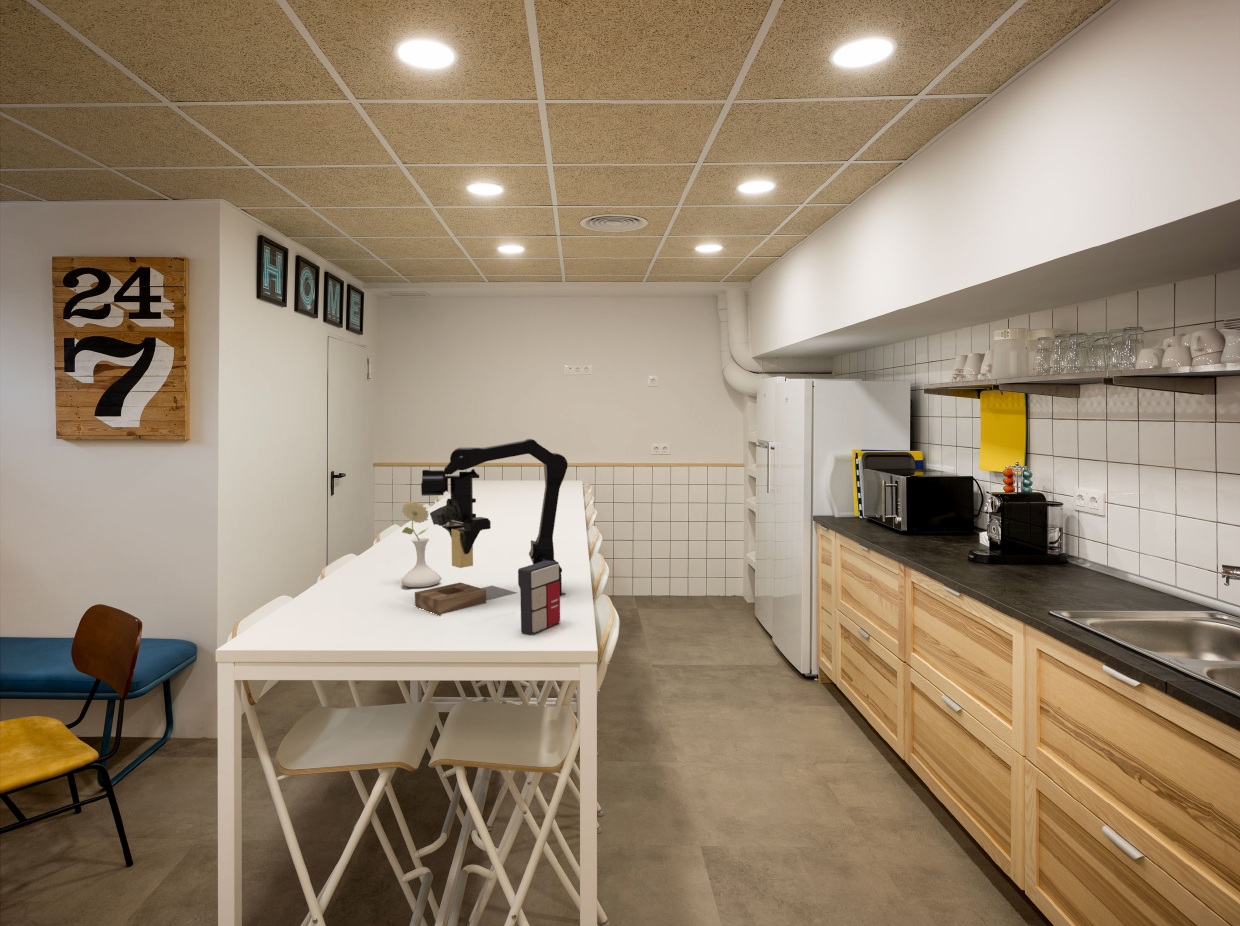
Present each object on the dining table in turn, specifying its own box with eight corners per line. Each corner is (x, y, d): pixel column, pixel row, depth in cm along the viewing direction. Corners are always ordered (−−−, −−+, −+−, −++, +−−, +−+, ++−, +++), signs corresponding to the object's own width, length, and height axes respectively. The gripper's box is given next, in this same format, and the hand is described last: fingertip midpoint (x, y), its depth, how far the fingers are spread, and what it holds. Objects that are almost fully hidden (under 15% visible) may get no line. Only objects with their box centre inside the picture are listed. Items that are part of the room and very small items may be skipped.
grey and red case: (533, 635, 156) (532, 570, 155) (518, 632, 158) (517, 568, 157) (562, 623, 165) (561, 561, 164) (548, 620, 168) (547, 559, 167)
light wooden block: (472, 565, 184) (472, 528, 184) (460, 568, 181) (459, 530, 181) (464, 563, 187) (464, 527, 186) (451, 565, 184) (451, 528, 184)
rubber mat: (517, 594, 192) (517, 592, 192) (482, 603, 183) (481, 601, 183) (492, 587, 200) (492, 585, 200) (456, 595, 192) (456, 593, 191)
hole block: (486, 604, 182) (486, 589, 182) (440, 616, 172) (439, 600, 172) (460, 596, 190) (460, 582, 190) (415, 607, 180) (414, 592, 180)
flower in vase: (449, 584, 204) (447, 500, 203) (419, 592, 195) (417, 505, 193) (419, 578, 211) (417, 498, 210) (389, 586, 202) (386, 502, 200)
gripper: (416, 494, 184) (417, 551, 185) (454, 500, 171) (454, 562, 172) (452, 491, 192) (453, 546, 193) (491, 497, 179) (492, 556, 180)
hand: (462, 552), depth 184 cm, fingers closed on light wooden block, 4 cm apart
